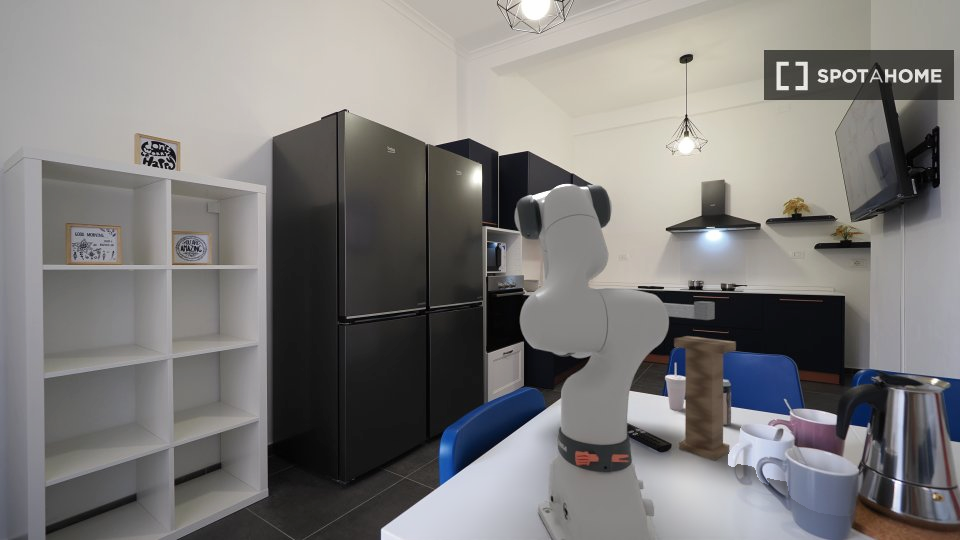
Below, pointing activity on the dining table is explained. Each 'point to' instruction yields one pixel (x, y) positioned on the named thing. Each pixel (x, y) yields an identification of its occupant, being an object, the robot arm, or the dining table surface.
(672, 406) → the smoothie
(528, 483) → the dining table surface
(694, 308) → the grey long block
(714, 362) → the walnut stand
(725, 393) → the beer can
